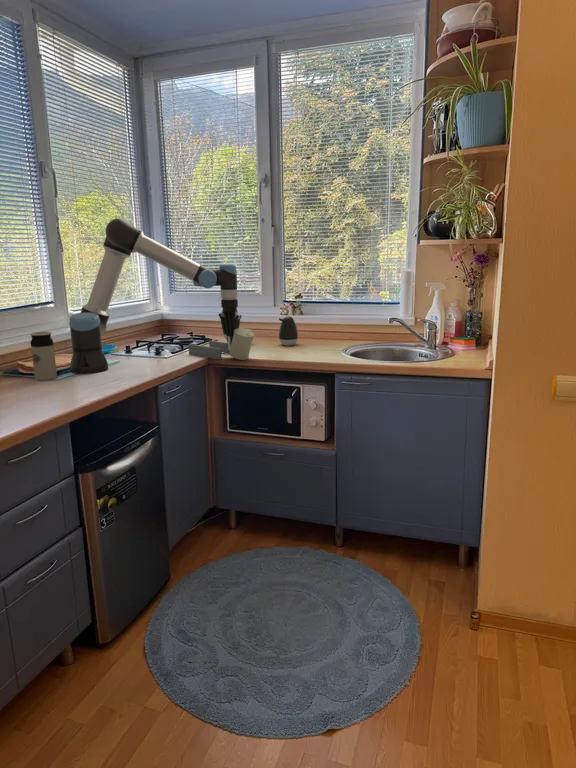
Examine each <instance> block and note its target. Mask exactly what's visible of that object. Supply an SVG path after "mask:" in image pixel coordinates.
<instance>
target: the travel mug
mask: <svg viewBox="0 0 576 768" xmlns="http://www.w3.org/2000/svg"><path fill="white" fill-rule="evenodd" d="M51 334H52V332H51V331H35V332H31V333H30V336H31V341H30V350H31V356H32V365H33V371H34V372H33V373H34V379H35V380H37V381H51V380H54V379H56V378H58V373H57V363H56V356H55V347H54V346H55V345H54V340H53V339H52V337H51V336H52V335H51Z"/></svg>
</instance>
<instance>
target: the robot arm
mask: <svg viewBox="0 0 576 768" xmlns="http://www.w3.org/2000/svg"><path fill="white" fill-rule="evenodd" d="M102 247H103V249H104V254H103V257H102V260H101V262H100V266H99V268H98V272H97V274H96V277H95V281H94V283H93V287H92V289H91V293H90V295H89V298H88V301H87V303H86V304H84V305H82V308H81V311H80V312H78V313H73V314H72V315H70V317H69V321H68V322H69V323H68V325H69V329H70V331H69V332H70V338H71V339H70V341H71V347H72V355H71V360H70V363H69V371H70V373H73V374H81V375H82V374H85V375H86V374H95V373H100V372H104V371H105V372H106V371H107V370H109V363H108V361H107V359H106V356H105V354H104V350H103V344H102V341H103V340H102V337H103V336H104V334H105V333H106V331H107V325H108V322H109V319H110V316H111V315H110V313H109V311H108V310H109V307H110V304H111V301H112V299H113V296H114V294H115V289H116V288H117V287H116V286H117V283H118V281H119V278H120V274H121V273H122V269H123V266H124V263H125V261H126V259H127V258H130V257H131V254H132V253H133V254H134V253H137V254H139V255H141V256H143V257H145V258H147V259H149V260H151V261H153V262H154V263H157V264H159V265H160V266H163V267H165V268H167V269H168V270H171V271H172V272H175V273H177V274H178V275H180V276H182V277H185V278H186V279H187V280H190V281H192V282H193V286H194V287H201V288H202V287H203V288H204V289H211V288H213V287H219V286H220V306H221V308H222V311H221V312H220V313H218V317H219V319H220V324H221V328H222V329H221V330H222V334H223V333H224V334H226V336H227V340H226V343H228V350H230V348H231V344H232V340H233V335H234V330H235V329H237V328H240V323H241V319H242V314H239V313H238V310H237V308H238V306H239V302H238V274H237V273H238V271H237V265H236V264H234V263H221V264H219V267H218V268H207V267H205V266H203V265H201V264H200V263H198V262H196V261H194V260H191V259H190V258H189V257H186V256H185V255H182V254H181V253H179V252H177V251H176V250H174V249H171V248H169V247H168V246H166V245H163V244H162V243H160V242H158V241H156V240H154V239H152V238H150V237H149V236H147V235H145V233H144V230H143V231H142V230H141V229H138V228H137V226H135V225H134V224H133V223H132V222H130V221H129V220H127V219H125V218H121V217H120V218H114V219H112V220H110V221H109V222H108V224H107V225H106V227H105V238H104V242H103V245H102Z"/></svg>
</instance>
